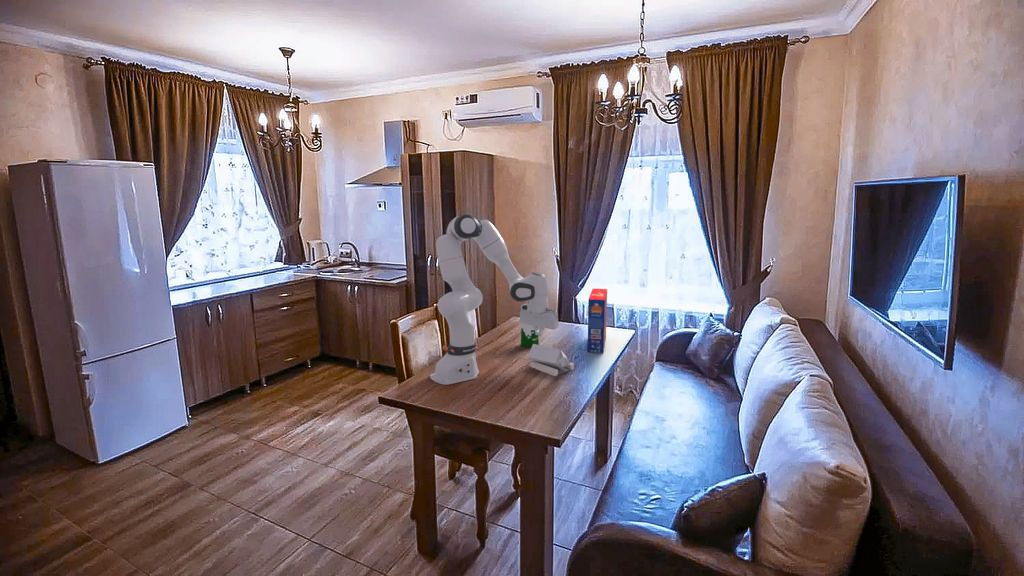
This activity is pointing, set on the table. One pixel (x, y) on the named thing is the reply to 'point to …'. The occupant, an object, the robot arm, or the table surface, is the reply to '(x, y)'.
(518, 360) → the table surface
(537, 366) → the cradle
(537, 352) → the milk carton
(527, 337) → the soya milk
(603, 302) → the pasta box
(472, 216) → the robot arm
